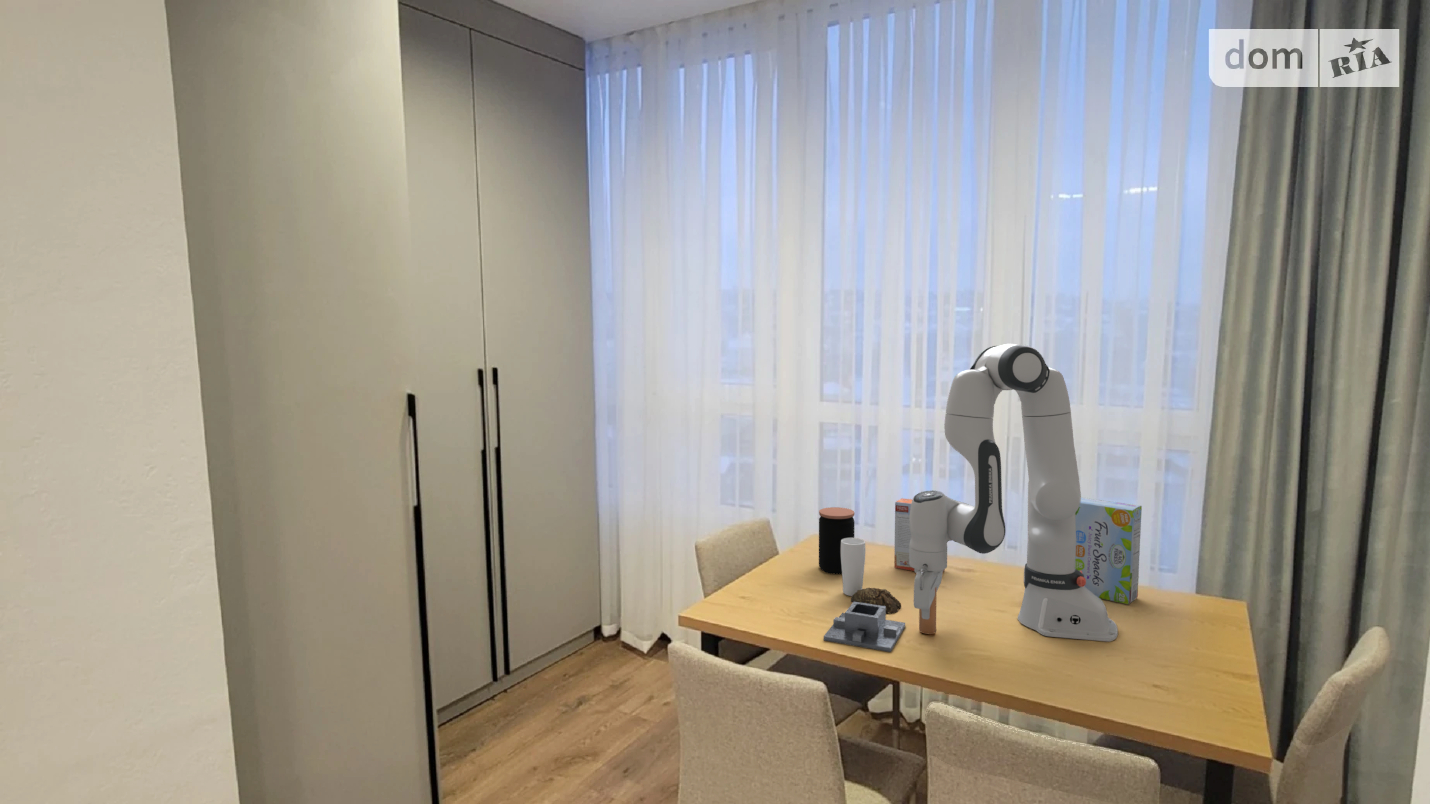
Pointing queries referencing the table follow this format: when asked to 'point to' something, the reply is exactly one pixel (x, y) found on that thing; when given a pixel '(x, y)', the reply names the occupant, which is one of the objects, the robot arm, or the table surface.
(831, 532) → the coffee jar
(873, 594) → the bread roll
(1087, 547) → the snack box
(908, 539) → the cracker box
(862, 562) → the drinking glass
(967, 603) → the table surface
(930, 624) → the rounded pin
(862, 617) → the hollow box on baseplate
